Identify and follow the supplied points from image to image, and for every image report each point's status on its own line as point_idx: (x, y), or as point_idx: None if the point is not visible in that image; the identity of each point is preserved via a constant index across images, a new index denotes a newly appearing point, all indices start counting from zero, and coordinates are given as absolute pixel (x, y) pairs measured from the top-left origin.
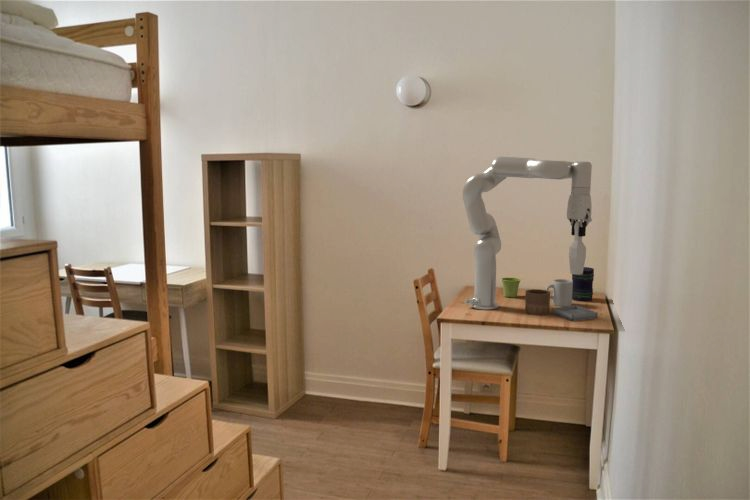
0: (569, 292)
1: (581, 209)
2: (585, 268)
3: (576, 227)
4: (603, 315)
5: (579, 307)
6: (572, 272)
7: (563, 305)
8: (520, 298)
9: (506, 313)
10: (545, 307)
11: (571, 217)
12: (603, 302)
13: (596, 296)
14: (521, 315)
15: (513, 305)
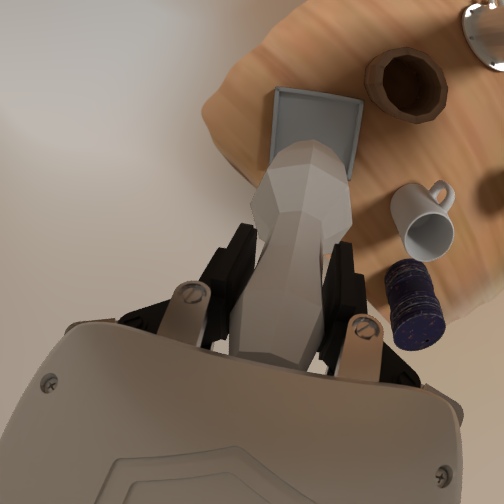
0: (398, 219)
1: (17, 444)
2: (417, 340)
3: (272, 284)
4: None
5: None
6: (311, 140)
7: (397, 190)
8: (500, 177)
9: (419, 15)
10: (367, 78)
11: (332, 386)
12: None
13: None
14: (387, 25)
15: (472, 98)
